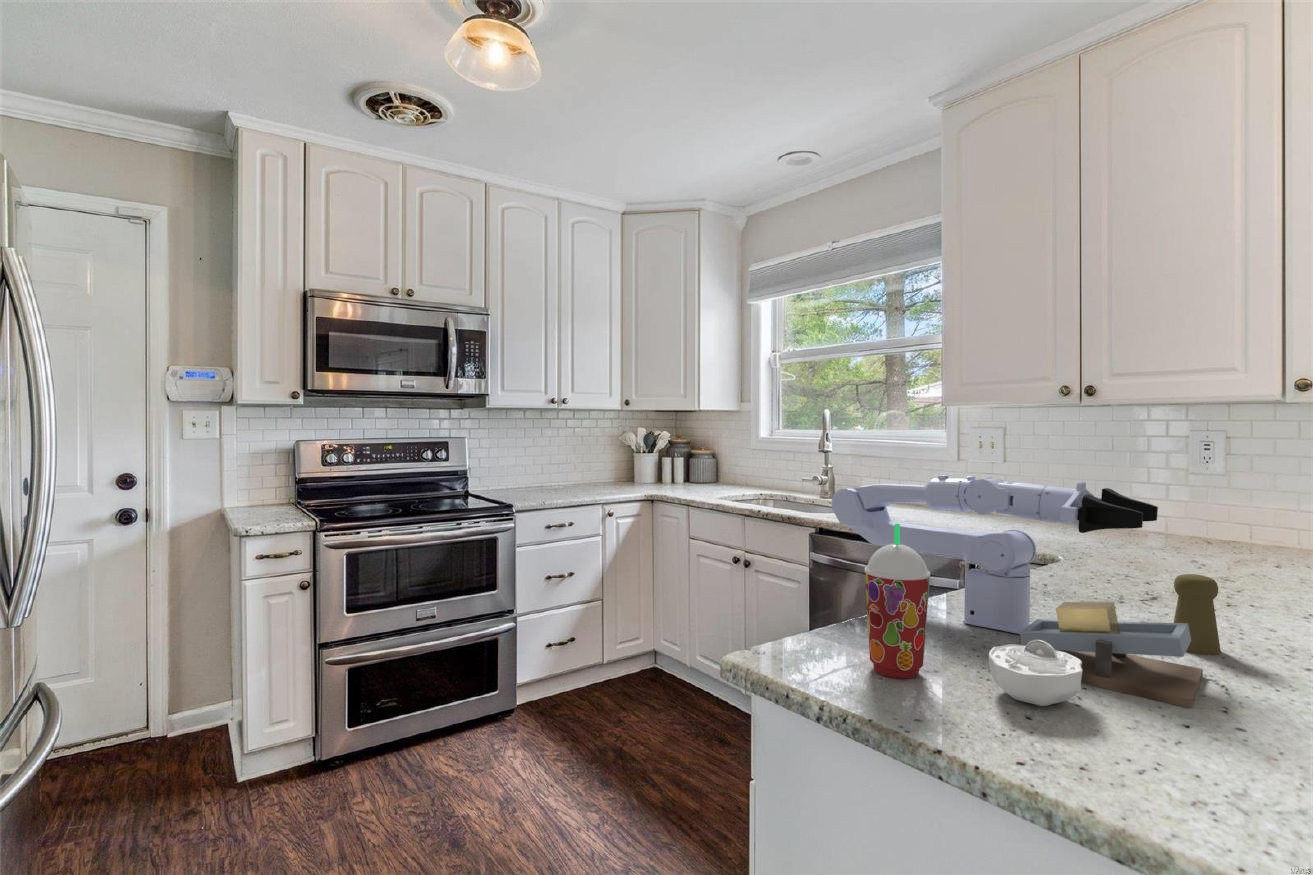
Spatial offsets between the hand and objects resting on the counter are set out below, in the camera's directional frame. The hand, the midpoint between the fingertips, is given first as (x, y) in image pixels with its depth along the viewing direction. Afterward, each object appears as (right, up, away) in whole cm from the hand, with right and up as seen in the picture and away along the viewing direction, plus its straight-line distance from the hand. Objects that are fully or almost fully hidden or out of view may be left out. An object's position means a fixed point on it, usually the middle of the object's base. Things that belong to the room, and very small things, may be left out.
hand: (1149, 517), depth 95 cm
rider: (-11, -16, -4) cm, 20 cm away
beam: (-10, -17, -5) cm, 20 cm away
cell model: (-25, -21, -15) cm, 36 cm away
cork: (+10, -20, +4) cm, 23 cm away
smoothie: (-39, -20, -6) cm, 44 cm away
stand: (-10, -20, -6) cm, 23 cm away
